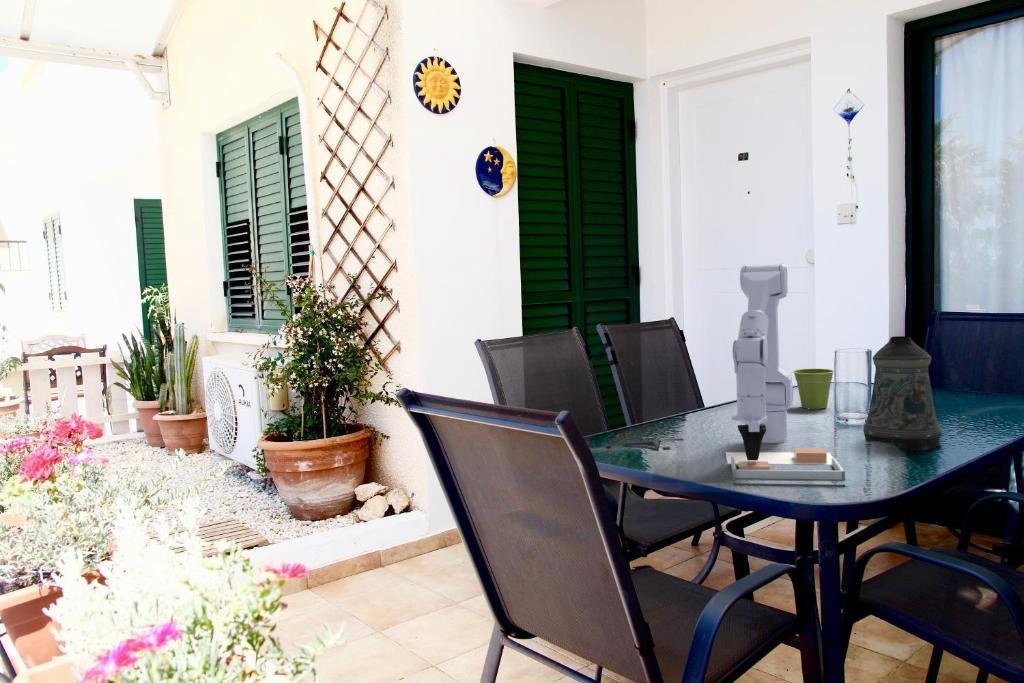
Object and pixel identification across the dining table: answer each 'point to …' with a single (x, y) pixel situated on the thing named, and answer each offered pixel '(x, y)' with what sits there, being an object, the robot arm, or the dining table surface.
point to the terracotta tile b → (810, 455)
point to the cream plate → (772, 458)
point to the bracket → (651, 442)
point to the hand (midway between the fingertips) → (752, 459)
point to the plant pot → (813, 387)
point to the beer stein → (902, 398)
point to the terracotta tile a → (753, 465)
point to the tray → (790, 475)
